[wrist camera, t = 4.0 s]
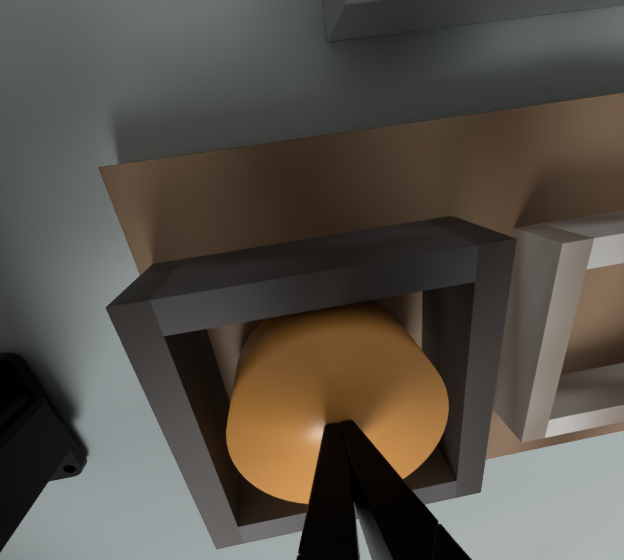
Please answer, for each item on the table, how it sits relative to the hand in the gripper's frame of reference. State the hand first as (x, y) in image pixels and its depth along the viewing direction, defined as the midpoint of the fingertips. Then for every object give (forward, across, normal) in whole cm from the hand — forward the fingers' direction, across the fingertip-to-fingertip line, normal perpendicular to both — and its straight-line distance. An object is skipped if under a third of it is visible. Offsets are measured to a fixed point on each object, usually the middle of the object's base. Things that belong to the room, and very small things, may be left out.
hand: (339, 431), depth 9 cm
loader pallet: (+4, -7, 0) cm, 8 cm away
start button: (+3, 0, 0) cm, 3 cm away
